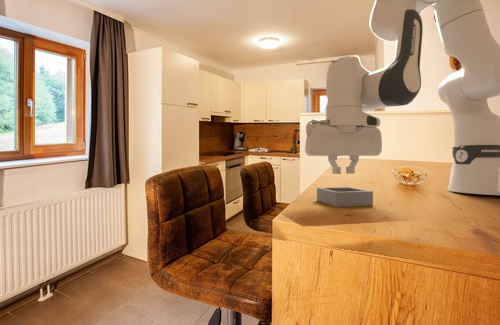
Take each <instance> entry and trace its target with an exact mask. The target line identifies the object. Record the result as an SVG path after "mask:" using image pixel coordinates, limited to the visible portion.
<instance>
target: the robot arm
mask: <svg viewBox="0 0 500 325" xmlns="http://www.w3.org/2000/svg"><path fill="white" fill-rule="evenodd" d="M429 7H431V8H433V9H434V14H435V22H436V26H437V29H438V34H439V36H440V40H441V44H442V47H443V51H444V53H445V54H446V55H447V56H449V57H454V58H455V59H456V60H457V61H458V62H459V63H460V65H461V66H462V69H460V70H457V71H456V72H453V73H451V74H449V76H448V77H446V78H445V79H444V80H442V81H441V83H440V84H439V86H438V92H437V93H438V97H439V98H440V100H441V101H442V102H443V103H444V104H446V105H447V106H448V108H449V110H450V112H451V115H452V118H453V119H452V120H453V127H454V131H453V132H454V134H453V136H454V146H452V152H451V153H452V158H453V162H452V164H451V165H450V166H451V167H450V174H449V180H448V181H449V184H448V185H447V186H446V187H447V191H449V192H454V193H461V194H462V193H463V194H475V195H487V196H489V195H490V196H491V195H492V196H500V116H499V115H498V114H496V113H493V111H492V110H491V109H490V106H489V104H488V99H490V98H494V97H498V96H500V43H498V42H497V40H496V39H495V38H494V37H493V34H492V32H491V30H490V27H489V23H488V21H487V18H486V15H485V14H486V13H485V11H484V8H483V5H482V2H481V0H375V1H374V5H373V7H372V10H371V14H370V18H369V28H370V30H371V32H372V33H373V35H374V36H375V37H377V38H378V39H380V40H382V41H387V42H396V46H395V52H394V53H395V55H394V58H393V60H392V61H391V63H389V64H388V65H387V66H385V67H384V68H381V69H378V70H375V71H373V72H371V71H369V70H368V69H366V68H365V67H364V66H363V64H362V63H361V59H360V56H358V55H356V54H355V55H354V54H353V55H352V54H351V55H346V56H342V57H339V58H337V59H334V60H333V61H332V62H330V64H329V65H328V68H327V72H326V84H325V88H326V89H325V94H326V98H327V102H326V103H327V104H326V108H325V119H311V120H310V121H308V122H307V123H306V126H305V133H306V134H305V135H306V139H305V146H304V148H305V149H304V151H305V154H306V155H307V157H327V160H328V163H329V164H330V166H331V167H332V174H334V175H338V174H340V175H341V173H342V167H341V166H339V165H338V163H337V162H336V161H338V157H349V161H350V163H349V165H348V166H345V173H346V174H350V175H352V174H353V175H354V174H355V173H356V171H355V170H356V169H355V168H356V166H357V165H358V163H359V161H360V157H376V156H377V157H378V156H380V154H382V150H383V141H382V140H383V138H382V133H381V130H380V129H379V128H378V127H380V126H381V119H380V118H378V117H376V116H373V115H372V114H369V113H367V111H373V110H378V109H384V108H385V109H386V108H388V107H400V106H407V105H409V104H410V103H412V102H413V101H414V100H415V98H416V97H417V96H418V95H419V92H420V90H421V87H422V86H421V85H422V78H421V77H422V76H421V69H420V68H421V67H420V66H421V58H422V57H421V55H422V44H423V43H422V42H423V30H424V29H423V26H424V24H423V19H422V17H421V14H420V13H421V12H423V11H425V10H426V9H428V8H429Z"/></svg>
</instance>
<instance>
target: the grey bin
mask: <svg viewBox="0 0 500 325" xmlns="http://www.w3.org/2000/svg"><path fill="white" fill-rule="evenodd" d="M316 201H317V202H320V203H322V204H326V205H328V206H332V207H335V208H343V207H344V208H345V207H346V208H347V207H367V206H368V207H369V206H370V207H371V206H374V191H372V190H368V189H363V188H356V187H353V186H346V187H345V186H340V187H339V186H337V187H333V186H332V187H317V188H316Z"/></svg>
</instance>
